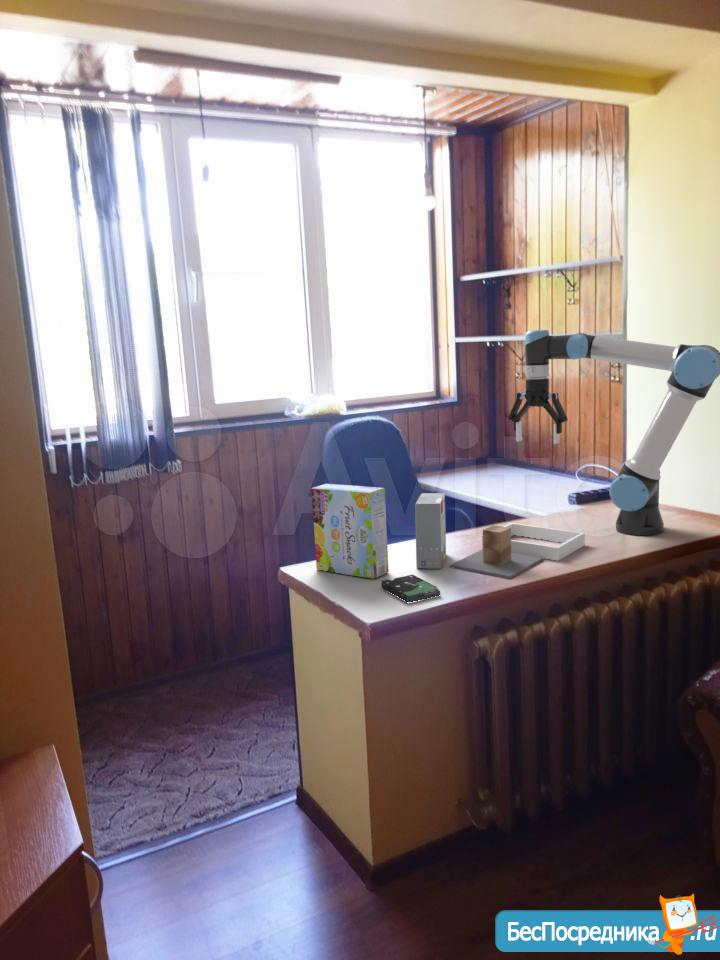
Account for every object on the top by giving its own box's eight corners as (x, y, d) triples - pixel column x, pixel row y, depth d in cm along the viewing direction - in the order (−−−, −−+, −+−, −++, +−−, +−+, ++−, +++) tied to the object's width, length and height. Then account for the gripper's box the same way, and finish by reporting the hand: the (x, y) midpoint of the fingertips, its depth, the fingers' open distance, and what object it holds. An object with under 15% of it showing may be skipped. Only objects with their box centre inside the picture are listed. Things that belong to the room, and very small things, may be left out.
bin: (584, 545, 241) (584, 532, 240) (557, 560, 227) (557, 548, 226) (511, 534, 257) (511, 522, 257) (482, 548, 243) (481, 536, 242)
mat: (543, 560, 228) (543, 557, 228) (510, 578, 213) (510, 576, 213) (485, 550, 241) (485, 547, 241) (450, 567, 226) (450, 564, 226)
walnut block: (511, 560, 227) (510, 527, 225) (501, 565, 223) (500, 532, 221) (493, 557, 231) (493, 525, 229) (483, 562, 226) (482, 529, 224)
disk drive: (380, 590, 211) (408, 605, 198) (380, 581, 211) (407, 595, 198) (412, 583, 216) (441, 597, 203) (412, 573, 215) (441, 587, 202)
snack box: (390, 572, 225) (387, 487, 220) (374, 580, 218) (370, 493, 213) (331, 562, 237) (326, 481, 232) (314, 570, 230) (309, 487, 225)
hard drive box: (442, 569, 224) (440, 504, 220) (416, 569, 226) (413, 504, 222) (446, 554, 239) (444, 492, 235) (422, 553, 241) (420, 492, 237)
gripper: (497, 378, 254) (498, 441, 258) (567, 379, 238) (567, 446, 242) (508, 377, 260) (509, 438, 264) (578, 377, 244) (577, 442, 248)
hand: (537, 442), depth 253 cm, fingers open, 13 cm apart
